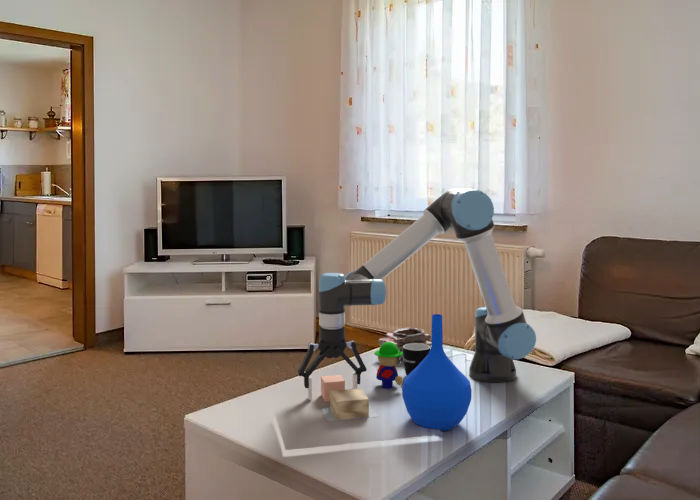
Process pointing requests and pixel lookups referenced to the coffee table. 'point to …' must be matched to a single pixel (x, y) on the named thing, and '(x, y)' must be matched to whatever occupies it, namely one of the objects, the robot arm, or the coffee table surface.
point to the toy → (389, 364)
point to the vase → (436, 387)
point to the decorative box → (406, 337)
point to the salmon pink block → (331, 385)
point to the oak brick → (349, 404)
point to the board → (331, 417)
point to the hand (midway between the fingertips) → (332, 396)
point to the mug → (414, 355)
